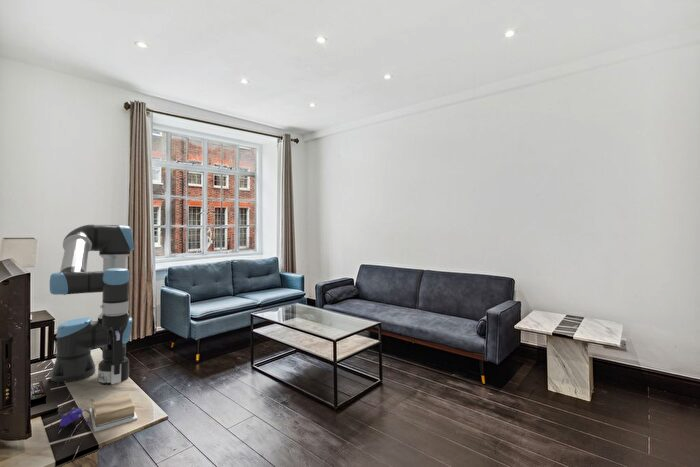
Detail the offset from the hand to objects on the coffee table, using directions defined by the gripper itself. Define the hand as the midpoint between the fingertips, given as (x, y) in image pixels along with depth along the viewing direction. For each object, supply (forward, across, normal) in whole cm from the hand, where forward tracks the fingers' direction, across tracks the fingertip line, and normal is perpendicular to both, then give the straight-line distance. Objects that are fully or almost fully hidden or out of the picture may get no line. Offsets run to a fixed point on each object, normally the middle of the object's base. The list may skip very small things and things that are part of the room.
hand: (113, 377), depth 122 cm
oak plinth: (+13, 0, 0) cm, 13 cm away
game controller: (+14, 0, -10) cm, 17 cm away
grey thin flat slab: (+13, 0, 0) cm, 13 cm away
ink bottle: (+1, 0, 0) cm, 1 cm away
